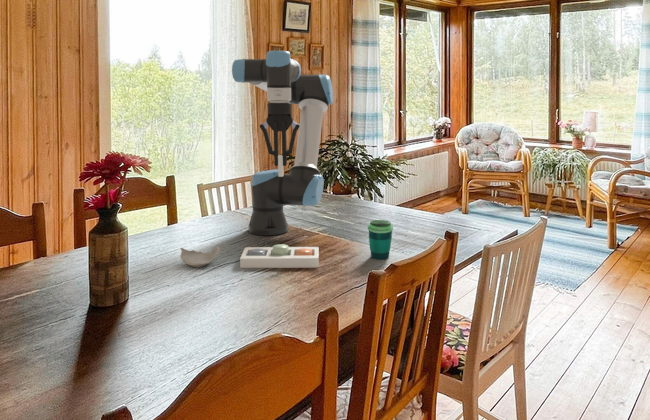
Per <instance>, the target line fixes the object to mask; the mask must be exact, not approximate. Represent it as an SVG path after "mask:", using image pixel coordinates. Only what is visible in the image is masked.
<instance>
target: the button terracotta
mask: <svg viewBox="0 0 650 420" xmlns="http://www.w3.org/2000/svg"><path fill="white" fill-rule="evenodd" d="M296 256H312V250H311V249H298V250H297V251H296Z"/></svg>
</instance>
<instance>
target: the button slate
mask: <svg viewBox="0 0 650 420" xmlns="http://www.w3.org/2000/svg"><path fill="white" fill-rule="evenodd" d="M249 256H265V250H263V249H252V250H250V251H249Z"/></svg>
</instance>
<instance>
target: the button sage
mask: <svg viewBox="0 0 650 420" xmlns="http://www.w3.org/2000/svg"><path fill="white" fill-rule="evenodd" d="M272 247H273V256H289V250H288V247H289V245H288V244H284V243H282V244H280V243H279V244H274V245H272Z"/></svg>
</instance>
